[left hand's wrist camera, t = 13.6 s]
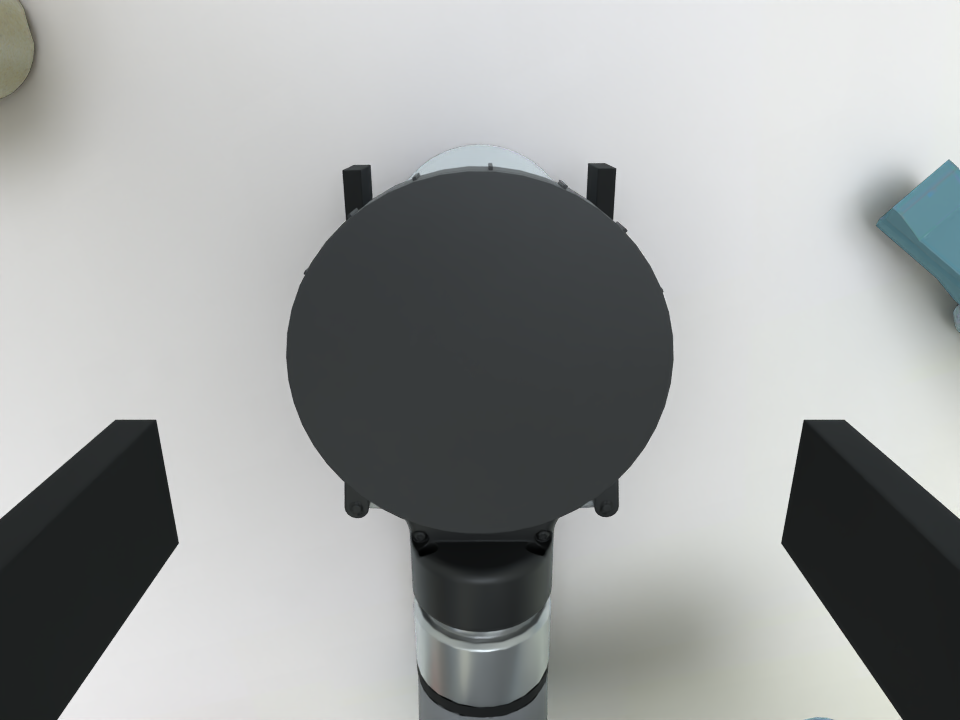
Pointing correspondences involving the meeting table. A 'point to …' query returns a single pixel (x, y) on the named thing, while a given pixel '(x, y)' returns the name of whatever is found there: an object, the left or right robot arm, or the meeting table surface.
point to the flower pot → (14, 46)
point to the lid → (479, 350)
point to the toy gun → (931, 228)
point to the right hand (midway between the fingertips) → (479, 166)
